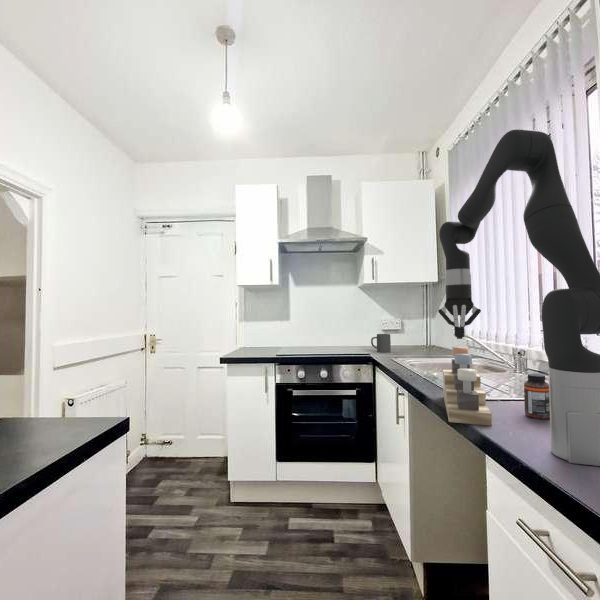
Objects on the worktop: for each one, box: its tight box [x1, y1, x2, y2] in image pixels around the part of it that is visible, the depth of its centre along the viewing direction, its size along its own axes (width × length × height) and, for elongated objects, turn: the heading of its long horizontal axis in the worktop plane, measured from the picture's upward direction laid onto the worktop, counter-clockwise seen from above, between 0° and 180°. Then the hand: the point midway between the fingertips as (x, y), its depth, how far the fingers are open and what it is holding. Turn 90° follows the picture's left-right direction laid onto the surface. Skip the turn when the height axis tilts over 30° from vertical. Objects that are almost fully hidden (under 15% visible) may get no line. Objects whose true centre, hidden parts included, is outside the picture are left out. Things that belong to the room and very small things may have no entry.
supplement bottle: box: [523, 372, 550, 420], centre depth 99 cm, size 6×6×11 cm
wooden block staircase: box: [442, 358, 493, 426], centre depth 106 cm, size 28×10×13 cm, turn 161°
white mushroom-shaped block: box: [457, 368, 477, 393], centre depth 98 cm, size 5×5×7 cm
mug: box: [370, 333, 392, 354], centre depth 247 cm, size 14×9×12 cm
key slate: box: [454, 353, 473, 369], centre depth 106 cm, size 5×5×7 cm
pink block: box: [451, 346, 469, 357], centre depth 115 cm, size 5×5×7 cm
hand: (459, 338), depth 115 cm, fingers closed
